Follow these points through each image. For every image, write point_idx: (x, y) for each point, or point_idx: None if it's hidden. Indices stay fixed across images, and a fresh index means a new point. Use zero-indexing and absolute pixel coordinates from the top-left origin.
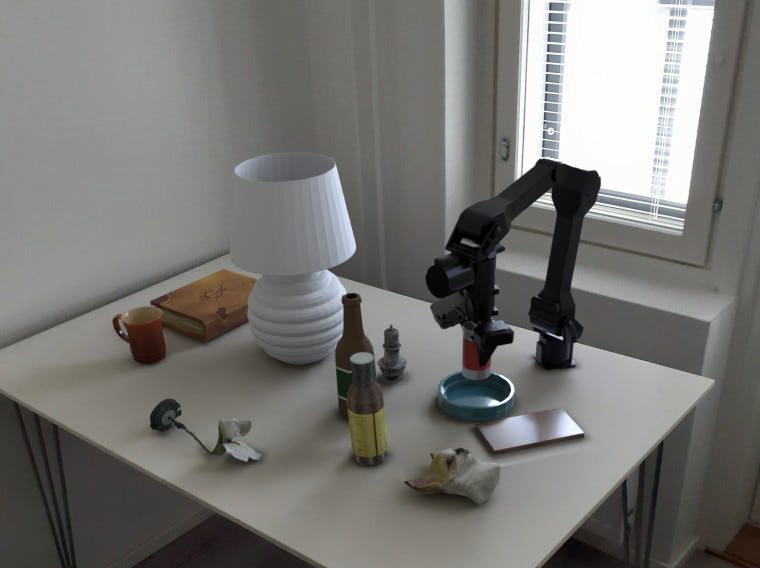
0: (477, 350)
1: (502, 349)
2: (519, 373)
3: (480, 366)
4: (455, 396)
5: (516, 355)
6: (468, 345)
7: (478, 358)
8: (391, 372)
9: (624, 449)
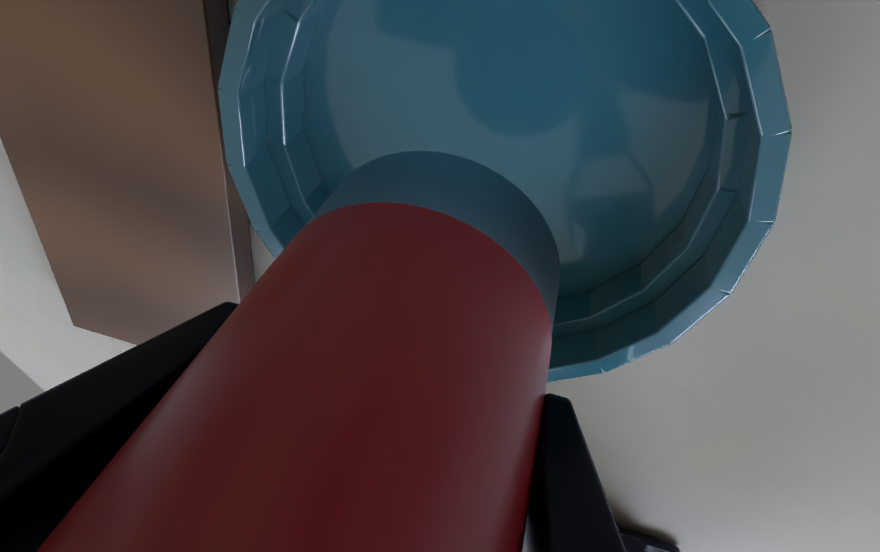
0: (60, 440)
1: (856, 533)
2: (611, 447)
3: (231, 302)
4: (627, 69)
5: (753, 527)
6: (153, 458)
7: (173, 356)
8: None
9: (29, 348)
